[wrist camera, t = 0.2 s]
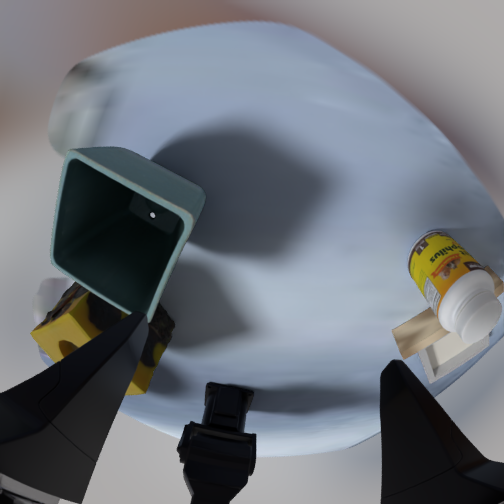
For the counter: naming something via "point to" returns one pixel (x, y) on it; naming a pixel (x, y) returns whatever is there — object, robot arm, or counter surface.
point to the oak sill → (428, 326)
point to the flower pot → (121, 225)
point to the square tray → (448, 354)
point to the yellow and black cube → (99, 331)
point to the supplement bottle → (454, 286)
